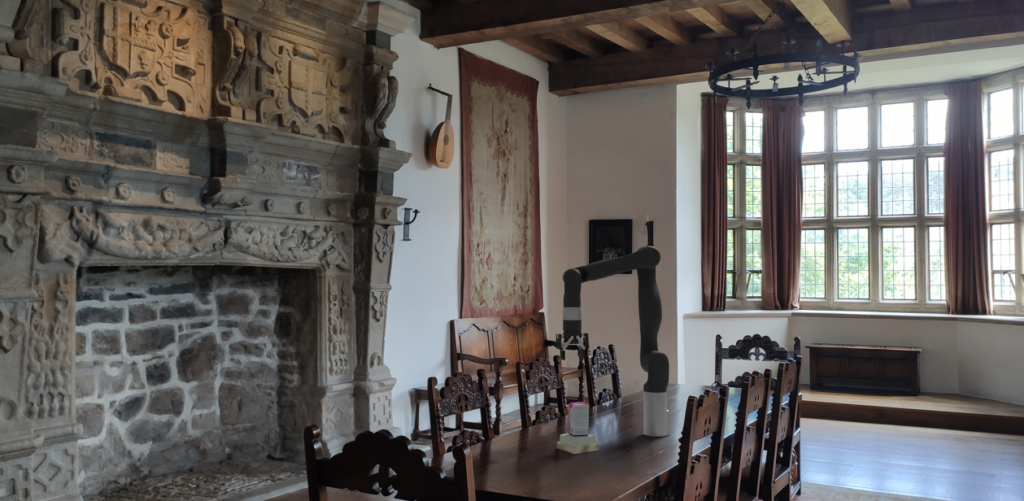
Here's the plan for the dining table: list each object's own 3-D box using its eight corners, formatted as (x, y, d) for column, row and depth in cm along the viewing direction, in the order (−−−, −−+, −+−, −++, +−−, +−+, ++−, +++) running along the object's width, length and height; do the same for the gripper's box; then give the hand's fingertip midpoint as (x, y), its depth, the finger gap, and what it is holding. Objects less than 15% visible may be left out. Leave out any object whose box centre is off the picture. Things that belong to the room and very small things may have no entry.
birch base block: (580, 446, 288) (580, 438, 288) (599, 452, 279) (599, 444, 279) (556, 450, 283) (556, 442, 283) (574, 456, 273) (574, 447, 273)
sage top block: (576, 439, 287) (576, 431, 287) (594, 443, 280) (594, 435, 281) (559, 443, 281) (559, 434, 281) (578, 447, 274) (578, 438, 274)
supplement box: (589, 436, 279) (589, 404, 279) (573, 437, 277) (573, 405, 278) (583, 432, 285) (583, 401, 285) (568, 433, 283) (568, 402, 283)
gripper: (561, 319, 300) (562, 361, 299) (592, 318, 307) (592, 359, 306) (551, 318, 306) (552, 359, 306) (582, 317, 313) (582, 357, 313)
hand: (572, 359), depth 306 cm, fingers open, 8 cm apart
